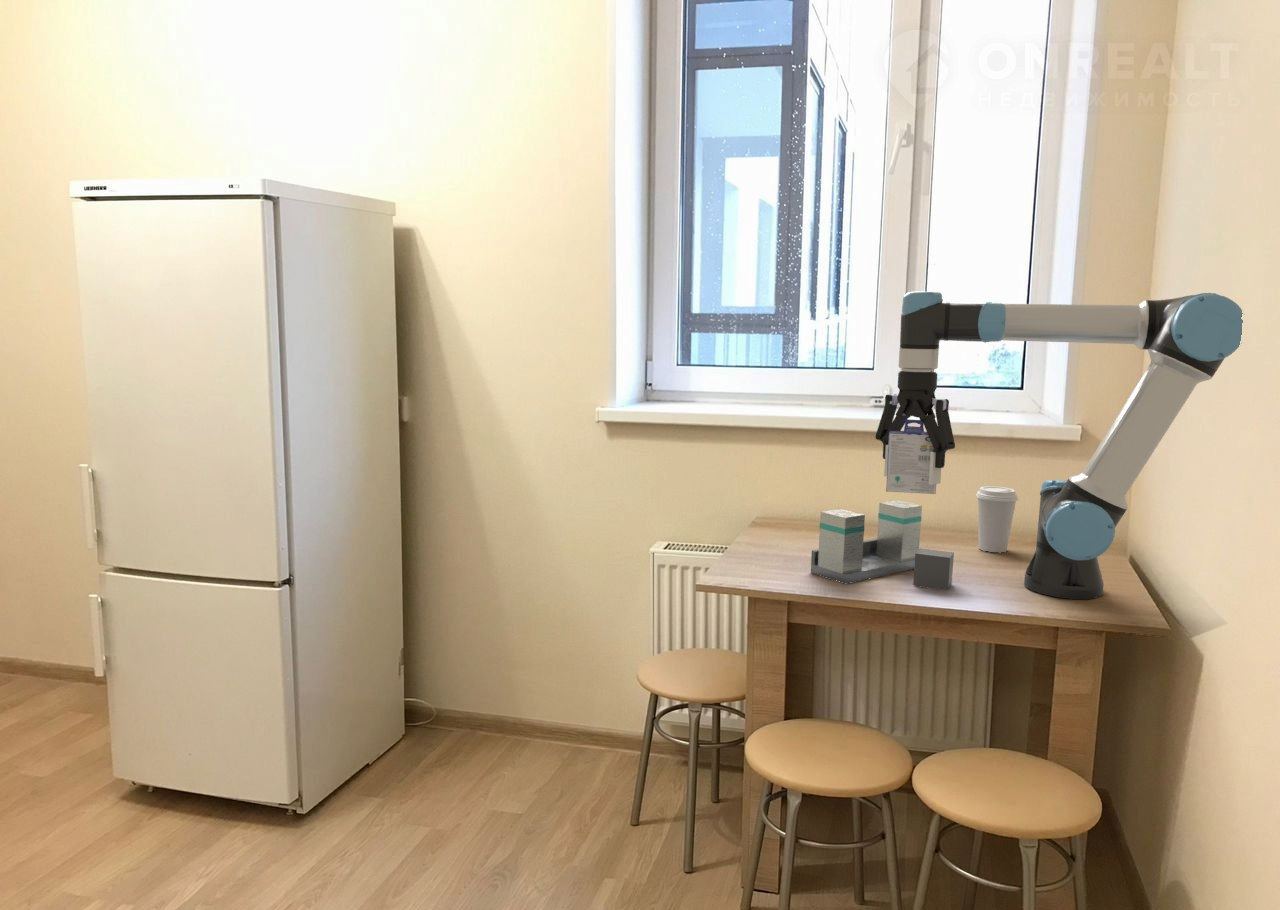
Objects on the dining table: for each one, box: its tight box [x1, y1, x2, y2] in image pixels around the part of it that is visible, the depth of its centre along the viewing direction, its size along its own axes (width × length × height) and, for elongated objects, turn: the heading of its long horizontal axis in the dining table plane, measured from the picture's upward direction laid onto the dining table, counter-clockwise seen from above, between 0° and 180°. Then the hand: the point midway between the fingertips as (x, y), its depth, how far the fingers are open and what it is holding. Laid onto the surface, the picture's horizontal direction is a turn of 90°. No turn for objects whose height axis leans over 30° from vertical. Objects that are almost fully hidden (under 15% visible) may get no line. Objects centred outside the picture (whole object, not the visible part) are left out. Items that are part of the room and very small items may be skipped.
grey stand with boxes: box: [810, 499, 923, 584], centre depth 209 cm, size 10×25×14 cm, turn 126°
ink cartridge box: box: [885, 418, 937, 495], centre depth 192 cm, size 10×6×14 cm, turn 77°
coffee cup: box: [975, 485, 1019, 553], centre depth 230 cm, size 10×10×15 cm
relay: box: [912, 547, 955, 591], centre depth 199 cm, size 5×7×7 cm
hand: (911, 479), depth 193 cm, fingers closed on ink cartridge box, 10 cm apart
